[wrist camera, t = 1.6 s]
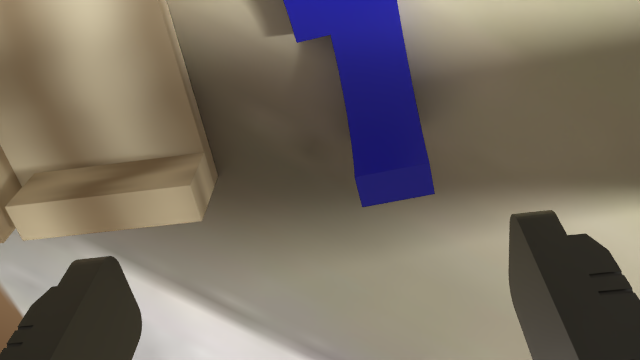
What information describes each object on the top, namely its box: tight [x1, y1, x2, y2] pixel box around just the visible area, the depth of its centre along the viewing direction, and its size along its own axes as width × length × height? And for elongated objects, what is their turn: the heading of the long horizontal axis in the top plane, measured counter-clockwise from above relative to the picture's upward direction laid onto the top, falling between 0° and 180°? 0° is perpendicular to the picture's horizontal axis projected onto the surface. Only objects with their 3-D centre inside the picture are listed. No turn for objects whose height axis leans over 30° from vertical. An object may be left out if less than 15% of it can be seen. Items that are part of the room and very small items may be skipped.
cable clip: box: [283, 0, 435, 207], centre depth 23 cm, size 12×4×6 cm, turn 14°
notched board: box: [0, 0, 218, 243], centre depth 24 cm, size 12×18×4 cm, turn 9°
